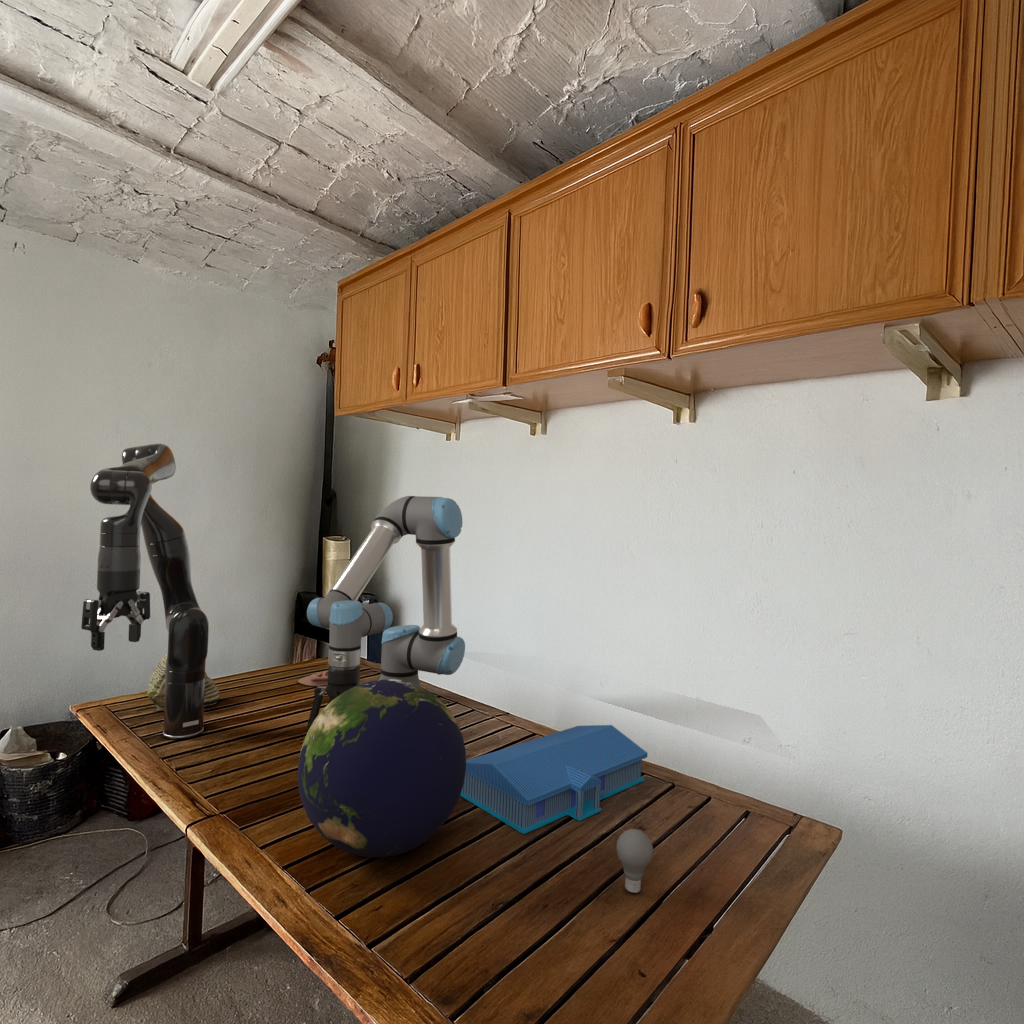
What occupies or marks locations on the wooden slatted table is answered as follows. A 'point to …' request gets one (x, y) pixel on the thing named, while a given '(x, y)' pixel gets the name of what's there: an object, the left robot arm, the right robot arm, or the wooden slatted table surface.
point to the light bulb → (634, 857)
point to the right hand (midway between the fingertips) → (340, 758)
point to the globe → (381, 768)
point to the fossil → (158, 687)
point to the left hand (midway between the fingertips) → (116, 645)
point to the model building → (553, 776)
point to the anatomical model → (315, 679)
